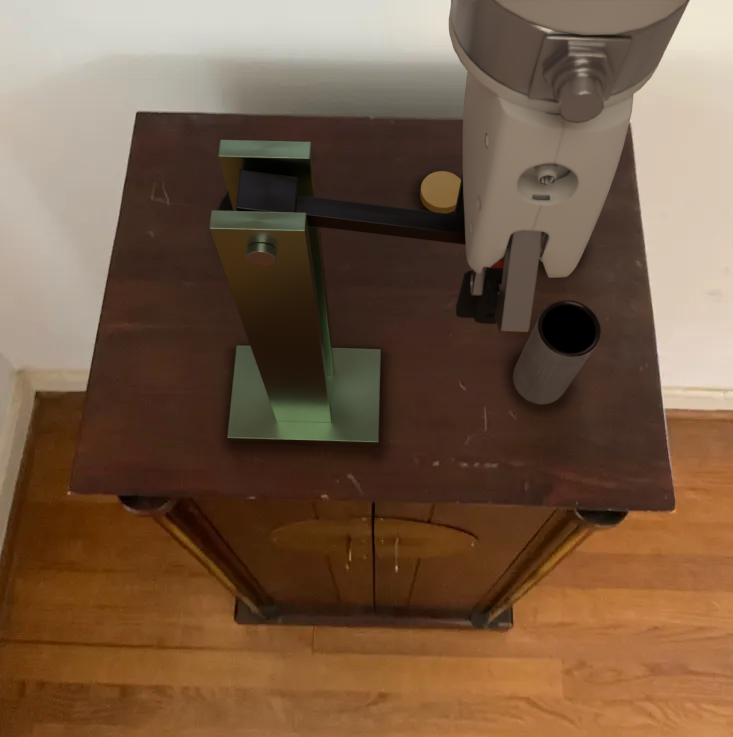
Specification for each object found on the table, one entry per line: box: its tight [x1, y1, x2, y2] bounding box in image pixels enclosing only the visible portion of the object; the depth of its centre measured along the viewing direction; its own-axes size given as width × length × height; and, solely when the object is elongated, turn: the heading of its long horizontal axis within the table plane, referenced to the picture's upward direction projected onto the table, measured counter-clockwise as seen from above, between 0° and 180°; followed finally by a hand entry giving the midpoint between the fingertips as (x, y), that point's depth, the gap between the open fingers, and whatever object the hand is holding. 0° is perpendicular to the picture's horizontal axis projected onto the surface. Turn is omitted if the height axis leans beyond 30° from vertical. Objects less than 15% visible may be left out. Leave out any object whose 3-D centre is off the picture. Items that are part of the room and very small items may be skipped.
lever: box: [236, 170, 504, 268], centre depth 38 cm, size 14×5×2 cm, turn 88°
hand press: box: [208, 139, 382, 448], centre depth 50 cm, size 12×8×30 cm, turn 88°
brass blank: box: [419, 170, 461, 214], centre depth 71 cm, size 4×4×1 cm
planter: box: [512, 299, 602, 405], centre depth 59 cm, size 4×4×10 cm
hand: (484, 264), depth 42 cm, fingers closed on lever, 5 cm apart
